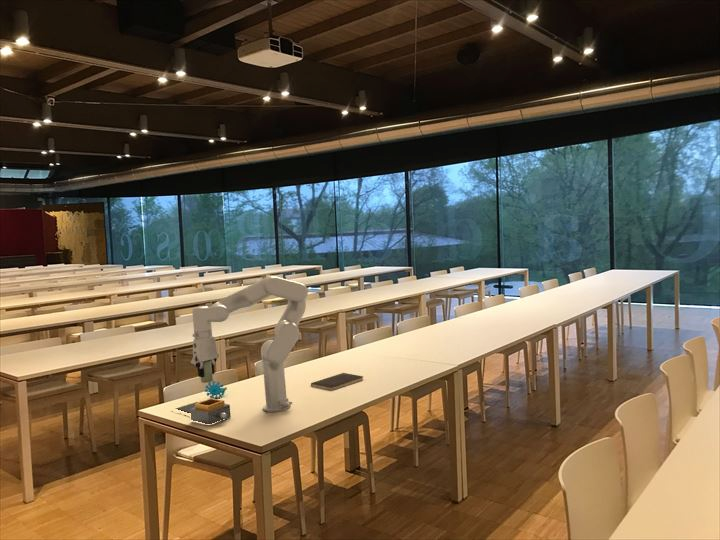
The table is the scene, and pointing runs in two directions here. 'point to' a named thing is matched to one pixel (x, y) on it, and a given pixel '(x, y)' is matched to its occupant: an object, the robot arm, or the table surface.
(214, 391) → the gear
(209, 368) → the spout can
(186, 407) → the dark grey flat slab
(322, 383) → the hardcover book
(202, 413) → the box
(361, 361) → the table surface
